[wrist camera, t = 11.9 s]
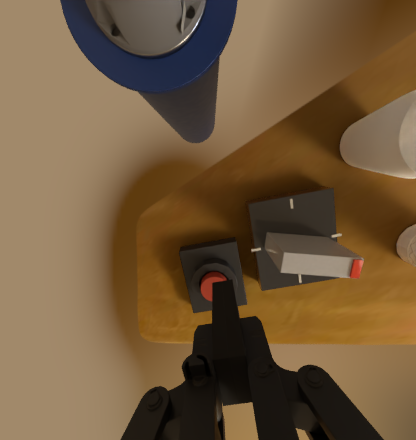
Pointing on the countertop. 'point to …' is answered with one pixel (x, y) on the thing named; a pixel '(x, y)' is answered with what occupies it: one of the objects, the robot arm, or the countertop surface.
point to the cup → (384, 139)
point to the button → (210, 283)
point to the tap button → (211, 269)
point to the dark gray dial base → (289, 229)
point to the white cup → (407, 245)
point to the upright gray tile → (312, 256)
